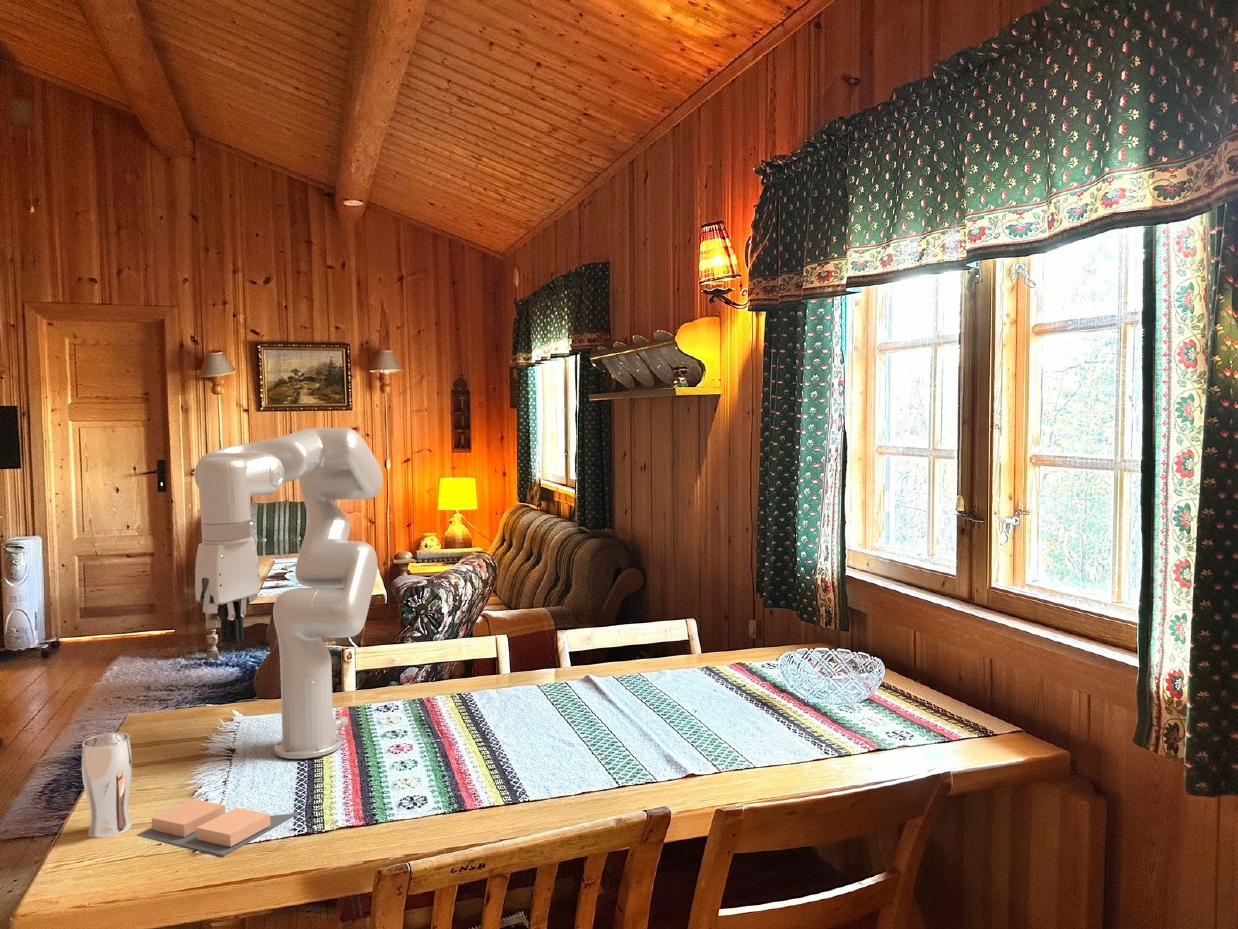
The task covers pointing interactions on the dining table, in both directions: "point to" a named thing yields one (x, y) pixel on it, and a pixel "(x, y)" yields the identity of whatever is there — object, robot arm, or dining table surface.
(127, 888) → the dining table surface
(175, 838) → the rubber mat
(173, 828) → the terracotta tile
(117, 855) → the dining table surface
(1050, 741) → the dining table surface
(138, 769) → the dining table surface
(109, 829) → the beer glass
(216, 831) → the peach flat block
